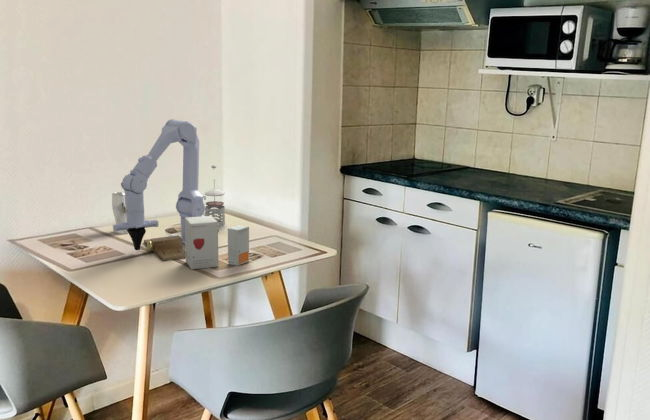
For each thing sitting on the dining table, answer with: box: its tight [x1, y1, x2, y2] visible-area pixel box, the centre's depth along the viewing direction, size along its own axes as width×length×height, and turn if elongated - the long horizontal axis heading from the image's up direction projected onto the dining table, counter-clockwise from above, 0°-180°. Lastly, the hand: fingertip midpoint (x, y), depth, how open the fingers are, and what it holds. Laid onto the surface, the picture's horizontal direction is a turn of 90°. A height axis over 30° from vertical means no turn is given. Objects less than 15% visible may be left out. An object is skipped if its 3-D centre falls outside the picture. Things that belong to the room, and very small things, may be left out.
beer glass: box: [111, 191, 129, 235], centre depth 225 cm, size 7×7×15 cm
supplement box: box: [184, 215, 220, 270], centre depth 189 cm, size 9×9×15 cm
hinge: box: [143, 234, 186, 262], centre depth 205 cm, size 10×24×4 cm, turn 31°
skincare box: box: [227, 224, 250, 267], centre depth 192 cm, size 6×4×12 cm
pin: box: [146, 241, 154, 253], centre depth 205 cm, size 10×4×4 cm, turn 121°
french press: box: [202, 164, 228, 231], centre depth 234 cm, size 10×12×25 cm
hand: (137, 249), depth 200 cm, fingers closed
